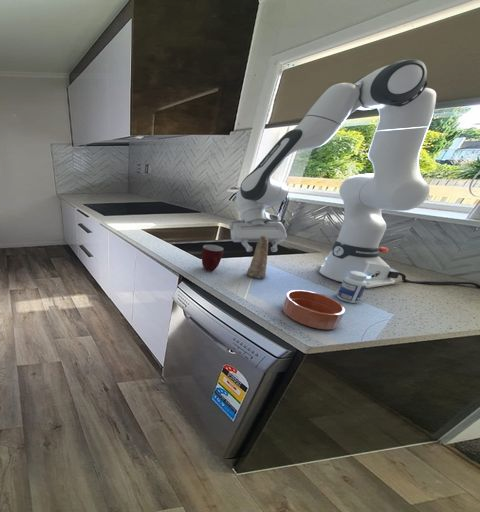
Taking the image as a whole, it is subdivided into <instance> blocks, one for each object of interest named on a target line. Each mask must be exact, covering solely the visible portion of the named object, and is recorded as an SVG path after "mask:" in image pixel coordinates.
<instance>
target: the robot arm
mask: <svg viewBox="0 0 480 512" xmlns="http://www.w3.org/2000/svg"><path fill="white" fill-rule="evenodd" d="M427 77H428V70H427V66H426V64H425V62H423V61H422V60H419V59H416V58H415V59H414V58H411V59H410V58H409V59H402V60H398V61H395V62H393V63H391V64H388V65H385V66H382V67H380V68H377V69H376V70H374V71H372V72H371V73H369V74H367V75H365V76H362V77H360V78H359V79H357V80H356V81H354V82H353V83H351V82H339V83H336V84H333V85H331V86H330V87H328V88H327V89H326V90H324V92H323V93H322V94H321V95H320V96H319V98H318V99H317V100H316V101H315V102H314V104H312V106H311V107H310V108H309V109H308V110H307V112H306V114H305V115H304V117H303V118H302V119H301V121H300V122H299V123H298V124H297V125H296V126H295V127H294V128H293V129H291V130H289V131H287V132H286V133H284V135H282V136H281V138H279V140H278V141H277V142H276V143H275V144H274V145H273V147H272V148H271V149H270V150H269V151H268V153H267V154H266V155H265V156H264V157H263V159H262V160H261V161H260V162H259V163H258V164H257V166H256V167H255V168H254V169H253V170H252V171H251V172H250V173H248V175H247V176H245V178H243V180H242V181H241V183H240V187H239V188H238V190H237V191H236V197H235V199H236V206H237V209H238V211H239V220H235V219H233V220H232V221H229V224H228V226H229V229H230V240H231V241H232V242H233V243H241V245H242V247H244V248H245V251H246V252H247V253H251V252H253V250H254V249H253V246H252V245H250V244H249V243H258V241H259V239H260V237H261V236H262V235H264V236H266V238H267V239H268V243H271V245H272V246H271V247H270V248H269V249H270V252H272V253H276V252H278V244H279V243H281V242H283V241H285V240H286V239H287V238H288V234H287V231H286V228H285V225H284V224H283V223H282V222H280V221H281V216H280V215H276V214H273V213H270V212H267V211H266V210H267V209H270V208H273V207H275V206H277V205H280V204H281V203H283V202H284V201H286V199H287V197H288V195H289V186H288V185H287V184H286V183H285V182H282V181H280V180H278V179H275V178H272V175H273V174H274V173H275V172H276V171H277V170H278V168H279V167H280V166H281V165H282V163H284V161H285V160H286V159H288V157H289V156H291V154H293V153H296V152H298V151H299V152H300V151H305V150H313V149H317V148H320V147H322V146H323V145H325V144H327V143H328V142H329V141H330V140H332V138H333V137H334V136H335V135H336V134H337V132H338V131H339V130H340V128H341V127H342V126H343V125H344V123H345V121H346V120H347V118H348V117H349V116H350V115H352V114H353V113H354V112H364V111H368V110H370V111H371V110H375V109H377V111H378V114H379V115H378V116H379V118H378V119H379V121H378V123H377V126H376V128H375V131H374V134H373V138H372V140H371V143H370V146H369V149H368V153H367V158H368V160H369V161H370V162H371V165H372V167H373V173H361V174H356V175H353V176H349V177H347V178H346V179H345V180H344V181H343V182H342V183H341V185H340V186H339V191H338V192H339V193H338V194H339V196H340V197H341V199H342V202H343V221H342V224H341V228H340V230H339V233H338V236H337V239H335V240H334V242H333V245H332V247H331V249H332V250H330V252H329V253H328V255H327V257H325V261H324V262H323V264H321V265H320V269H319V270H318V271H319V273H320V274H321V275H322V276H324V277H326V278H328V279H331V280H334V281H336V282H340V283H342V282H343V279H344V278H345V277H348V276H349V273H350V271H358V272H362V273H365V274H366V275H367V278H366V279H365V281H366V282H367V285H366V287H365V289H370V288H375V287H383V286H390V285H395V284H396V280H395V279H398V277H399V276H401V281H402V282H405V283H411V284H420V285H421V284H430V285H444V284H449V285H450V284H451V285H472V286H474V287H476V288H477V289H480V283H477V282H474V281H453V280H439V281H438V280H417V281H416V280H409V279H407V276H406V274H405V273H402V272H401V271H398V270H397V269H395V268H393V267H390V265H389V264H388V263H387V262H386V261H385V260H383V258H381V257H380V253H382V254H387V253H388V252H389V248H388V247H384V246H379V245H380V243H381V241H382V240H383V237H384V235H385V232H386V230H387V223H386V221H385V220H384V218H383V216H382V215H383V214H382V210H383V211H389V212H390V211H391V212H393V211H395V212H397V211H398V212H399V211H400V212H402V211H403V212H404V211H411V210H413V209H415V208H418V207H419V206H421V205H422V204H423V203H424V202H425V201H426V200H427V198H428V197H429V195H430V185H429V184H428V182H427V181H425V180H424V178H423V177H422V175H421V171H420V162H419V161H420V154H421V149H422V147H423V144H424V141H425V138H426V135H427V133H428V131H429V128H430V126H431V122H432V121H433V116H434V113H435V109H436V103H437V92H436V90H434V89H433V88H430V87H427V86H428V80H427V79H428V78H427Z"/></svg>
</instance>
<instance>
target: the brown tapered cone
mask: <svg viewBox="0 0 480 512" xmlns="http://www.w3.org/2000/svg"><path fill="white" fill-rule="evenodd" d="M268 253H269V242H268V239H267V238H266V236H264V235H262V236H261V237H260V239H259V241H258V242H256V246H255V249H254V254H253V256H252V259H251V261H250V265H249V267H248V269H247V270H246V275H247V276H248V277H250V278H252V279H253V278H254V279H257V280H259V279H265V278H266V272H267V262H268Z"/></svg>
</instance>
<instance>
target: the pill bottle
mask: <svg viewBox="0 0 480 512" xmlns="http://www.w3.org/2000/svg"><path fill="white" fill-rule="evenodd" d="M366 278H367V275H366V274H365V273H362V272H358V271H350V273H349V276H348V277H345V278H344V279H343V282H341V284H340V287H339V290H338V292H337V295H336V297H337V298H338V299H339V300H341V301H343V302H346V303H351V304H357V303H359V302H360V300H361V298H362V296H363V293H364V291H365V289H366V288H365V287H366V285H367V282H366V281H365V279H366Z"/></svg>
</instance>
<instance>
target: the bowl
mask: <svg viewBox="0 0 480 512" xmlns="http://www.w3.org/2000/svg"><path fill="white" fill-rule="evenodd" d="M281 308H282V312H283V313H284V314H285V315H286V316H287V317H288V318H290V319H292V320H293V321H295V322H297V323H299V324H301V325H303V326H307V327H309V328H313V329H318V330H335V329H337V328H338V327H339V325H340V323H341V321H342V319H343V317H344V314H345V313H346V309H345V307H344V305H342V304H341V303H340V302H339V301H337V300H335V299H333V298H331V297H329V296H328V295H324V294H321V293H319V292H315V291H310V290H302V289H292V290H289V291H287V292H286V294H285V297H284V299H283V303H282V305H281Z"/></svg>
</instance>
